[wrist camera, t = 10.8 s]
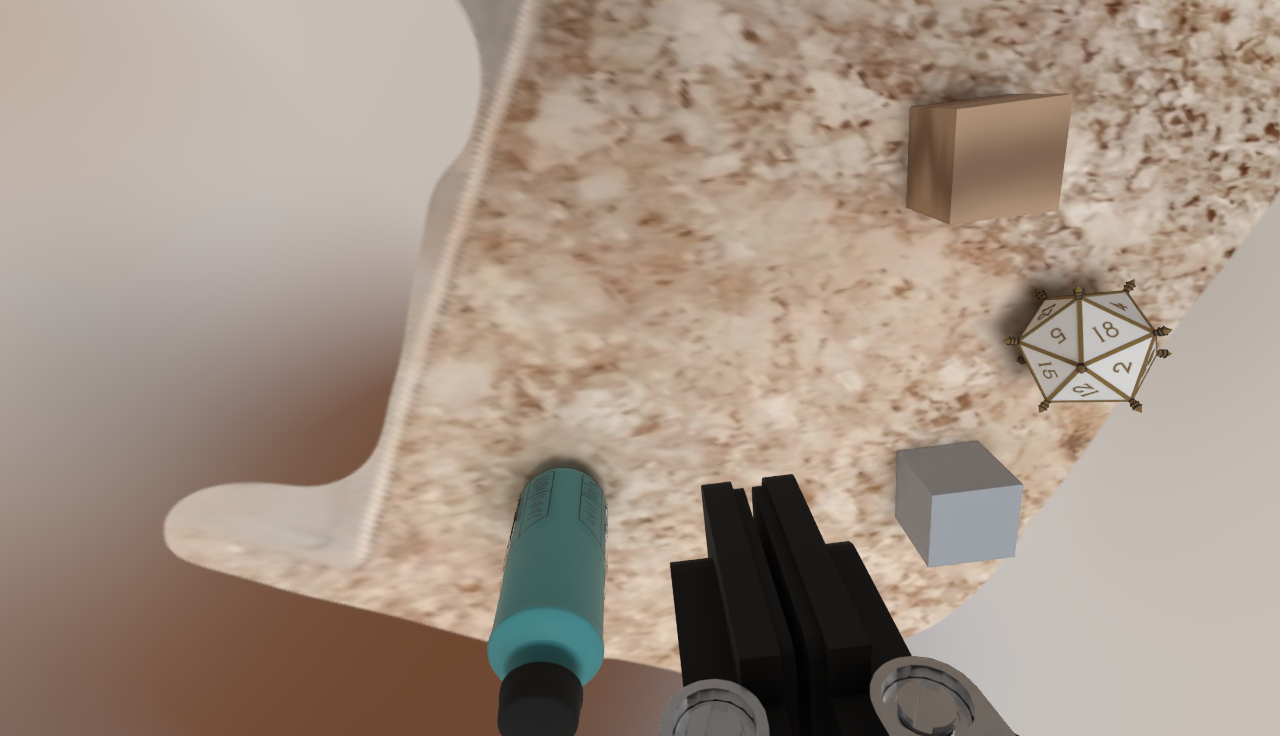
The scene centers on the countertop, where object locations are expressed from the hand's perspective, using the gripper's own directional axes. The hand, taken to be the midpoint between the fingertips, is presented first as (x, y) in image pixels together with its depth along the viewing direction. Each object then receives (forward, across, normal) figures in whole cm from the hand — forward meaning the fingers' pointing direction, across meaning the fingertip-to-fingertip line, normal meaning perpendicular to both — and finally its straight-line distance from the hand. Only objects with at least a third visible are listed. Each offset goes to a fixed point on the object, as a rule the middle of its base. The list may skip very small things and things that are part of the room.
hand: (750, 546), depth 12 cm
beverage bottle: (+32, +9, +19) cm, 39 cm away
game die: (+32, -26, +10) cm, 43 cm away
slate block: (+32, -19, +22) cm, 43 cm away
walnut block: (+32, -19, -2) cm, 37 cm away
